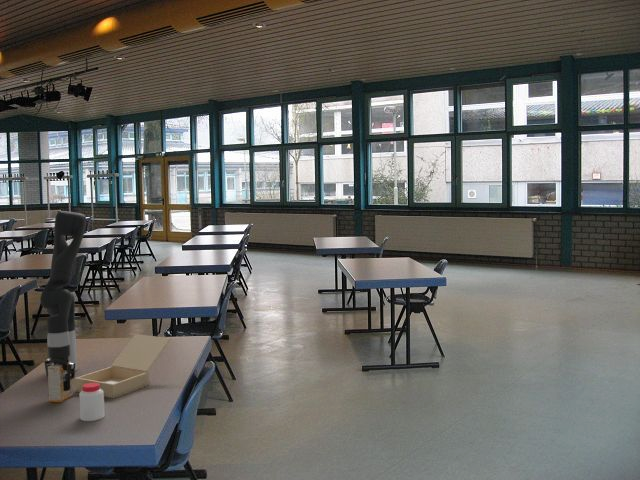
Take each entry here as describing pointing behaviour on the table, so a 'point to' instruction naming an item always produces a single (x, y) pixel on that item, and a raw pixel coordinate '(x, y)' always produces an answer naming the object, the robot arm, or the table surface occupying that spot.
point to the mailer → (114, 380)
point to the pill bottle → (91, 402)
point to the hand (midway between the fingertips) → (60, 389)
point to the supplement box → (58, 384)
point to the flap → (141, 352)
